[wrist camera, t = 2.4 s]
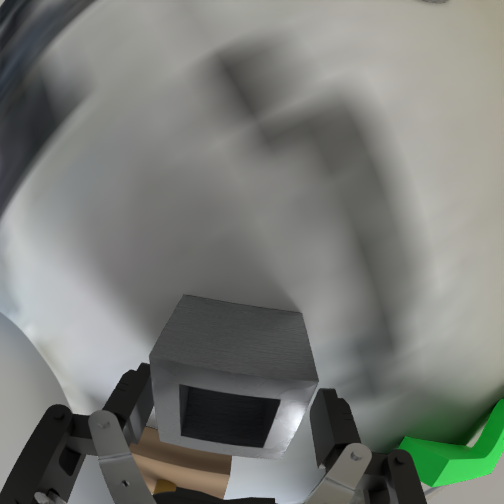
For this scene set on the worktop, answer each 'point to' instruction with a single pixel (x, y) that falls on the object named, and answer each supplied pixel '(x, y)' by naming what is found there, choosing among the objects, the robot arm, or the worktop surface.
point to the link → (231, 378)
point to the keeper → (179, 466)
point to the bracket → (458, 454)
